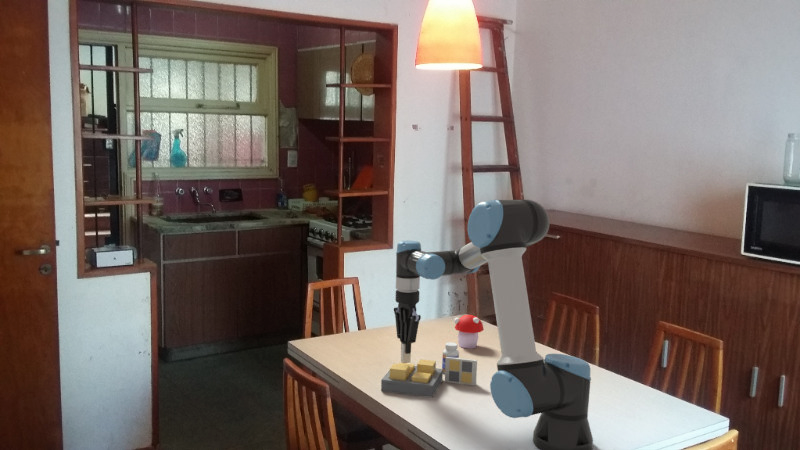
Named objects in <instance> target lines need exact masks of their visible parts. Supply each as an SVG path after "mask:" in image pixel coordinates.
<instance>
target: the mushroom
mask: <svg viewBox="0 0 800 450" xmlns="http://www.w3.org/2000/svg"><path fill="white" fill-rule="evenodd" d="M453 321H454V323H455V326H454V329H455V330H456V331H458V333H457V340H458V342H457V343H458V346H459V347H460V348H463V349H475V348H477V346H478V340H479V333H481V332H483V331H484V330H485V329H484V325H483V321H482V320H481V319H480V318H479V317H478V316H477V315H473V314H464V315H462V316H460V317H455V318H454V320H453Z"/></svg>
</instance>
